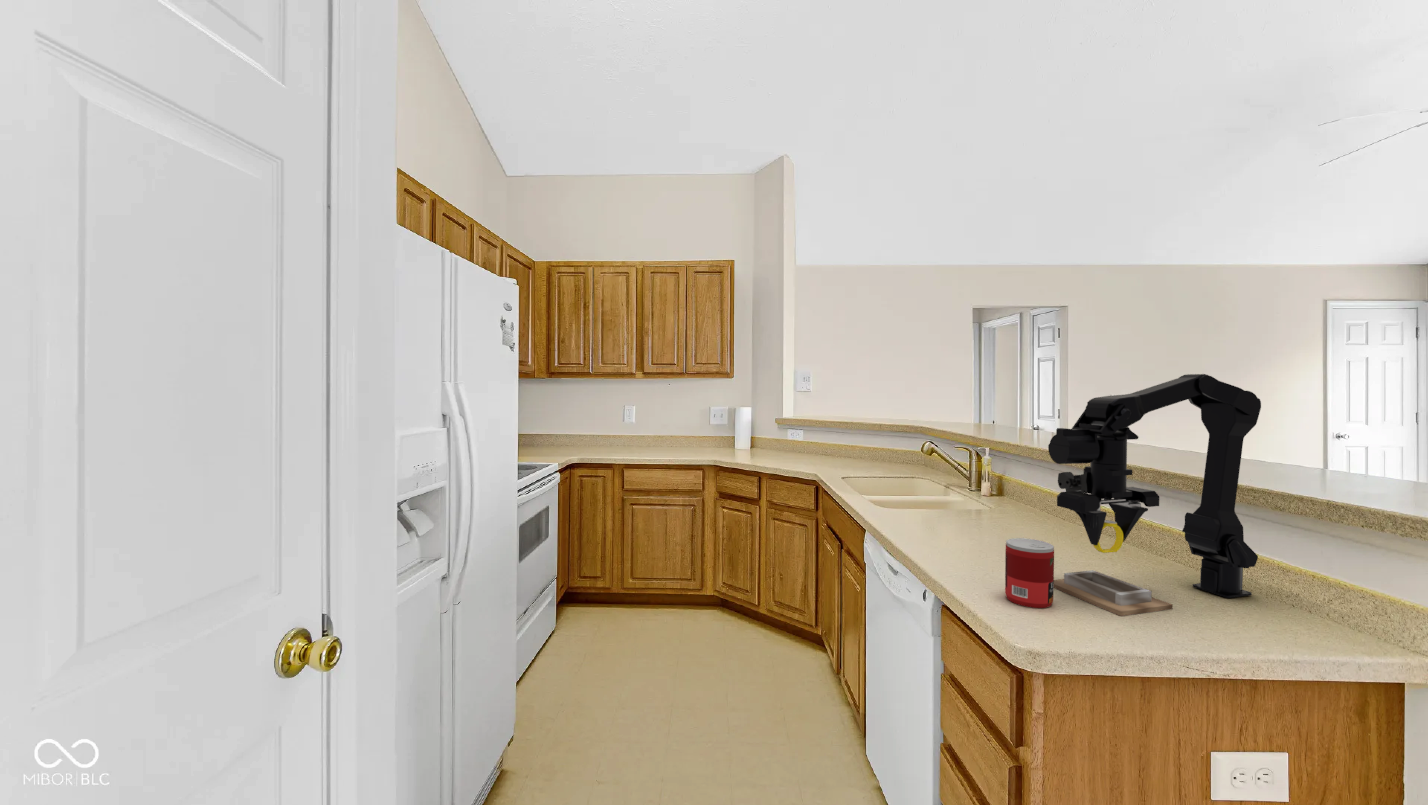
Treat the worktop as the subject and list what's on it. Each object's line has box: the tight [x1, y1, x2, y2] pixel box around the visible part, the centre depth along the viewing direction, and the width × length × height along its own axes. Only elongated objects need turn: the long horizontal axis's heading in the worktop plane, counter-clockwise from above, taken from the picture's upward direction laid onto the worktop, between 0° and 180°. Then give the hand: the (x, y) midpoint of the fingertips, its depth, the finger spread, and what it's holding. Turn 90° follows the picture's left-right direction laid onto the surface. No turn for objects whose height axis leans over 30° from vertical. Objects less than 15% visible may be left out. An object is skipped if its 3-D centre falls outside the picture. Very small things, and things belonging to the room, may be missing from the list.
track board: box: [1054, 569, 1173, 617], centre depth 108 cm, size 12×16×3 cm
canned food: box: [1004, 537, 1055, 609], centre depth 106 cm, size 8×8×11 cm
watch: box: [1093, 519, 1124, 554], centre depth 107 cm, size 6×3×6 cm, turn 102°
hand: (1107, 543), depth 107 cm, fingers closed on watch, 6 cm apart
